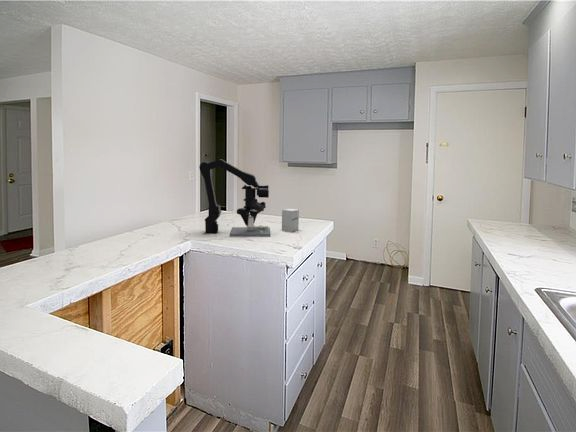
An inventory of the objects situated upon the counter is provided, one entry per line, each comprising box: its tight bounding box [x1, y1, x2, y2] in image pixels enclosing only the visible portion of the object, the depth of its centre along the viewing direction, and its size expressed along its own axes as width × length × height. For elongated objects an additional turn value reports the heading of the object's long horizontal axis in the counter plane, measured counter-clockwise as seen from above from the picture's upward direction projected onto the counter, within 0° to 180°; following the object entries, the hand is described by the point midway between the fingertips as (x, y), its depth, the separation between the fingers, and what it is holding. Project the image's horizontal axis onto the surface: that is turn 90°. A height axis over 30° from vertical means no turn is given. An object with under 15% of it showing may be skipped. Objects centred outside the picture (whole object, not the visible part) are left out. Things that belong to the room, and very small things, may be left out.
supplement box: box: [281, 208, 300, 233], centre depth 216 cm, size 7×7×13 cm
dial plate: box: [229, 225, 271, 238], centre depth 208 cm, size 22×17×3 cm
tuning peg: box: [246, 216, 269, 231], centre depth 208 cm, size 12×6×8 cm, turn 100°
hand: (250, 224), depth 208 cm, fingers closed on tuning peg, 6 cm apart
